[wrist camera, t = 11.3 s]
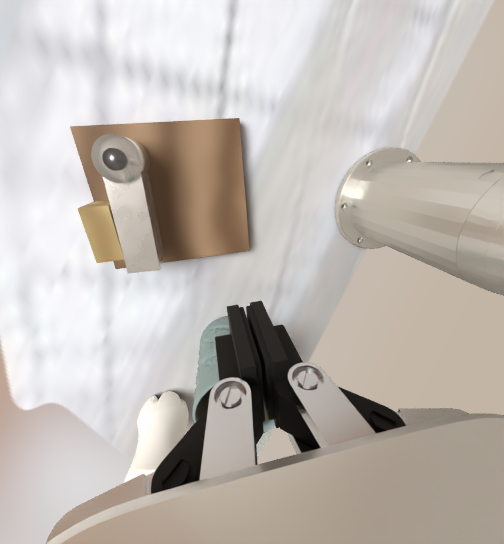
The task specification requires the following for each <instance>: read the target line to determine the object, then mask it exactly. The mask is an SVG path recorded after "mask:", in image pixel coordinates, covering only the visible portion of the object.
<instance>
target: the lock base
mask: <svg viewBox="0 0 504 544" xmlns="http://www.w3.org/2000/svg"><path fill="white" fill-rule="evenodd" d="M70 128H71V131H72V134H73V137H74V141H75V144H76V147H77V150H78V153H79V156H80V159H81V162H82V165H83V169H84V172H85V175H86V178H87V181H88V184H89V187H90V190H91V193H92V197H93V200H94V202H92V203H90V204H87V205H85V206H82V207H80V208H78V211H79V214H80V217H81V219H82V222H83V225H84V228H85V231H86V234H87V236H88V239H89V242H90V245H91V248H92V251H93V253H94V256H95V259H96V262H97V263H101V262H108V261H113V262H114V265H115V268H116V269H120V268H126V264H125V260H124V256H123V252H122V249H121V245H120V241H119V237H118V233H117V229H116V226H115V222H114V218H113V214H112V210H111V206H110V203H109V199H108V195H107V191H106V187H105V183H104V180H103V176H102V175H101V174H100V173H99V172H98V171H97V170H96V168H95V166H94V164H93V161H92V157H91V150H92V146H93V144H94V142H95V141H96V140H97V139H98V138H99V137H101V136H103V135H106V134H117V135H120V136H123V137H126V138H129V139H132V140H135V141H137V142H138V143H140V144H141V145H142V146H143V147H144V148H145V150H146V151H147V153H148V156H149V160H150V165H149V169H148V172H149V177H150V182H151V187H152V193H153V198H154V203H155V209H156V214H157V219H158V224H159V230H160V235H161V240H162V246H163V251H164V259H163V262H162V263H164V262H171V261H179V260H186V259H194V258H201V257H208V256H216V255H223V254H230V253H238V252H245V251H249V239H248V226H247V212H246V199H245V186H244V173H243V160H242V147H241V134H240V121H239V118H234V119H214V120H194V121H174V122H154V123H133V124H113V125H93V126H73V127H70Z"/></svg>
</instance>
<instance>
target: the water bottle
mask: <svg viewBox="0 0 504 544" xmlns="http://www.w3.org/2000/svg"><path fill="white" fill-rule="evenodd" d="M188 421H189V413H188V408H187V404H186V402H185V401H184V400H183V399H180V397H179V396H178V394H176V393H175V392H172V391H167V392H164V393H163V394H162V395H161V397H160V398H159V400H158V398H157V397H156V396H155V395H154V396H151V397H150V398H149V399H148V400H147V402H146V403H145V404H144V406H143V407H142V409H141V412H140V414H139V417H138V421H137V426H138V431H139V440H138V446H137V450H136V454H135V457H134V460H133V462H132V465H131V467H130V469H129V471H128V473H127V475H126V477H125V481H124V483H125V482H127V481H129V480H131V479H133V478H135V477H137V476H139V475H141V474H143V473H144V474H145V476H147V475H149V474H151V473H153V472H155V470H156V469H157V467H158V466H159V465H160V463H161V462H162V461H163V460H164V458H165V457H166V456H167V455H168V454H169V453H170V451H171V450H172V449H173V448H174V447H175V446H176V445H177V443H178V442H179V441H180V440H181V439H182V438H183V437H184V434H185V431H186V428H187V425H188Z"/></svg>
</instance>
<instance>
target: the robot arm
mask: <svg viewBox="0 0 504 544" xmlns="http://www.w3.org/2000/svg"><path fill="white" fill-rule="evenodd" d="M341 206H342V207H341ZM335 218H336V222H337V225H338V228H339V230H340V232H341V233H342V235H343V236H344V237H345V238H346V239H347V240H348V241H350V242H351V243H353V244H355V245H357V246H359V247H363V248H370V249H374V248H380V247H383V246H388V247H390V248H393V249H395V250H397V251H399V252H402V253H404V254H406V255H408V256H411V257H413V258H415V259H417V260H420V261H422V262H424V263H426V264H429V265H431V266H433V267H435V268H438V269H440V270H442V271H444V272H447V273H449V274H451V275H453V276H456V277H458V278H460V279H462V280H465V281H467V282H469V283H471V284H474V285H477V286H479V287H481V288H483V289H485V290H488V291H491V292H494V293H497V294H501V295H504V163H451V162H450V163H449V162H447V163H445V162H420V160H419V159H418V158H417V157H416V156H415V155H414V154H413V153H411V152H410V151H408V150H405V149H402V148H382V149H379V150H376V151H373V152H371V153H369V154H367V155H365V156H364V157H363V158H361V159H360V160H359V161H357V162H356V163H355V164H354V165H353V167H352V168H351V169H350V170H349V171H348V173H347V174H346V176H345V177H344V179H343V181H342V183H341V185H340V187H339V190H338V193H337V197H336V203H335ZM246 311H247V318H246V315H245V311H244V308H243V307H240V308H239V306H238V305H233V306H227V312H228V320H229V328H230V334H228V335H222V336H217V337H215V344H216V354H217V363H218V373H219V382H218V383H217V384H216V385H215V386H214V387H213V389H212V390H211V393H210V397H209V405H208V409H207V410H206V411H205V412H204V414H203V415H202V416H201V417H200V418H199V419H198V420H197V422H196V423H195V424H194V425H193V426H192V427H191V429H190V430H189V431H188V432H187V433H186V434H185V435H184V437H183V438H182V439H181V440H180V441H179V442H178V443H177V445H176V446H175V447H174V448H173V449H172V450H171V451H170V453H169V454H168V455H167V456H166V457H165V458H164V460H163V461H162V462H161V463H160V465H159V466H158V467H157V469H156V470H155V472H153V473H151V474H149V475H147V476H145V474H144V473H143V474H141V475H139V476H137V477H135V478H133V479H131V480H129V481H127V482H125V483H123V484H121V485H119V486H117V487H115V488H113V489H111V490H109V491H107V492H105V493H103V494H101V495H99V496H97V497H95V498H93V499H91V500H89V501H87V502H85V503H83V504H81V505H79V506H77V507H75V508H74V509H72V510H71V511H69V512H68V513H66V514H65V515H64V516H63V517H62V518H61V519H60V520H59V522H58V523H57V524H56V525H55V527H54V529H53V530H52V532H51V533H50V535H49V537H48V539H47V542H46V544H504V415H498V414H469V413H467V412H464V411H462V410H458V409H452V408H451V409H450V408H449V409H448V408H444V409H443V408H440V409H399V411H398V412H394V411H393V410H391V409H389V408H388V407H385V406H383V405H380V404H378V403H376V402H374V401H371V400H369V399H366V398H364V397H361V396H359V395H357V394H354V393H352V392H349V391H347V390H345V389H342V388H340V387H338V386H337V385H336V384H335V383H334V382H333V381H332V380H331V378H330V377H329V376H328V375H327V373H326V372H325V371H324V370H323V369H322V368H321V367H319V366H317V365H315V364H312V363H304V362H302V360H301V358H300V356H299V354H298V352H297V350H296V348H295V347H294V345H293V343H292V341H291V339H290V337H289V335H288V333H287V331H286V329H285V327H284V326H283V325H277V326H273V325H272V322H271V320H270V318H269V316H268V314H267V312H266V309H265V307H264V305H263V303H262V301H258V302H251V303H250V306H246ZM264 405H265V408H266V412H267V416H268V419H269V420H273V419H274V423H275V426H276V428H279V427H280V429H282V430H284V431H285V432H287V433H289V438H290V441H291V443H292V445H293V447H294V449H295V451H296V453H297V454H296V455H293V456H289V457H285V458H281V459H277V460H274V461H270V462H266V463H262V464H259V465H258V464H257V448H256V444H257V443H258V441H259V439H260V438H261V436H262V434H263V433H264V429H263V422H265V410H264Z"/></svg>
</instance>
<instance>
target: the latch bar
mask: <svg viewBox="0 0 504 544" xmlns="http://www.w3.org/2000/svg"><path fill="white" fill-rule="evenodd" d="M91 157H92V161H93V164H94V166H95V168H96V170H97V171H98V172H99V173H100V174H101V175H102V176H103V180H104V183H105V187H106V191H107V195H108V199H109V203H110V206H111V210H112V214H113V218H114V222H115V226H116V229H117V233H118V237H119V241H120V245H121V249H122V252H123V256H124V260H125V264H126V268H127V272H128V273H135V272H144V271H154V270H160V269H161V266H162V262H163V259H164V251H163V246H162V240H161V235H160V230H159V224H158V219H157V214H156V209H155V203H154V198H153V193H152V187H151V182H150V177H149V172H148V169H149V165H150V160H149V156H148V153H147V151H146V150H145V148H144V147H143V146H142V145H141V144H140V143H138V142H137V141H135V140H132V139H129V138H126V137H123V136H120V135H117V134H106V135H103V136H101V137H99V138H98V139H97V140H96V141H95V142H94V144H93V146H92V150H91Z"/></svg>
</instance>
